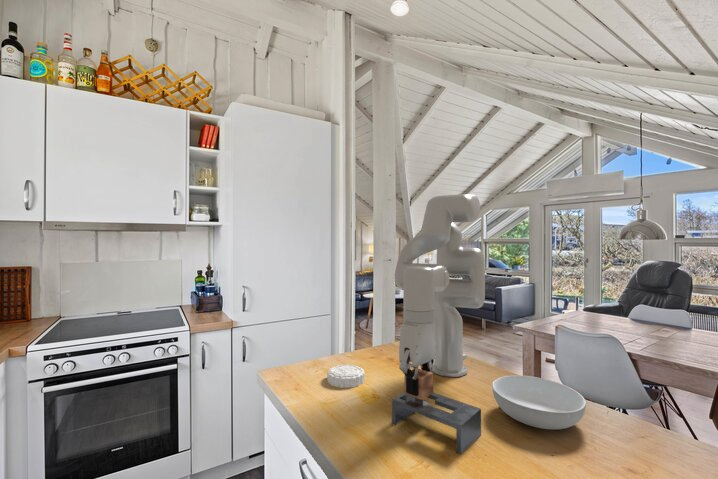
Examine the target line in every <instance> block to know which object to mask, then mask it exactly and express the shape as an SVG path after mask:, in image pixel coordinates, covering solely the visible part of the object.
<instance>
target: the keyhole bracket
mask: <svg viewBox="0 0 718 479" xmlns="http://www.w3.org/2000/svg"><path fill="white" fill-rule="evenodd" d="M426 398H427V399H430V400H433V401H434V405H435V406H439V407H441V408H444V409H447V410H450V411H452V412H448V411H446V410H443V409H441V408H437V407H435V406H432V405H427V406H425V407H424V408H423V407H421V406H418V405H415V404H413V403H410V402H409V401H410V400H413V399H415V397H412V396H409V395H407V394H405V391H404V392H402V393H401V394H398V395H397V396H395V397H393V398H392V399H391V424H392V425H394V426H396V425H397V424H400V422H402V421H404V420H406V419H407V418H409V417H410V416H412V415H413V414H415V413H416V414H419V415H420V416H424V417H426V418H428V419H430V420H433V421H434V422H435V421H436V422H438V423H439V424H443V425H446V426H448V427H450V428H453V429H455V430H456V431H455V432H456V433H455V434H456V435H455V436H456V443H455V445H456V454H458V455H462V454H464V452H466V450H467V449H469V447H471V446H472V445H473V444H474V443H475V442H476V441H477V440H478V439H479V437H481V435H482V408H481V407H480V408H479V407H478V406H474V405H470V404H468V403H465V402H462V401H460V400H456V399H453V398H450V397H448V396H444V395H441V394H440V393H439V394H438V393H436V392H433V394H431V395H430V396H428V397H426ZM412 411H413V412H412Z"/></svg>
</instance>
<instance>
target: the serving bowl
mask: <svg viewBox="0 0 718 479" xmlns="http://www.w3.org/2000/svg"><path fill="white" fill-rule="evenodd" d="M491 388H492V394H493V397H494V399H495V402H496V404H497V405H498V406H499V408H500V409H501V410H502V411H503V412H504V413H505V414H506V415H508V416H509V417H511V418H512V419H514V420H516V421H518V422H519V423H522V424H525V425H527V426H529V427H534V428H539V429H543V430H544V429H545V430H563V429H568V428H570V427H571V428H572V427H573V426H575V425H576V424H578V423H579V422H580V421H581V420H582V418H583V417H584V414H585V412H586V406H587V402H586V399H585V398H584V396H583V395H582V394H581V393H579V392H578V391H577V390H575V389H573V388H571V387H570V386H568V385H566V384H563V383H560V382H557V381H555V380H551V379H548V378H547V379H546V378H543V377H542V378H541V377H537V376H532V375H523V374H522V375H520V374H519V375H515V374H514V375H504V376H501V377H498V378H496V379H495V380H493V381H492V384H491Z"/></svg>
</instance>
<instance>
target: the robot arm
mask: <svg viewBox="0 0 718 479" xmlns="http://www.w3.org/2000/svg"><path fill="white" fill-rule="evenodd" d="M480 211H481V203H480V200H479V198H478V196H477V195H476V194H468V193H467V194H465V193H463V194H462V193H461V194H445V195H437V196H434V197H431V198H430V199H428V200H427V204H426V206H425V211H424V216H423V219H422V220H423V221H422V224H421V228H420V232H419V233H418V234H416V235H415V236H414V237H413V238H411V239H410V240H409V241H408V242H407V243H406V244H405V245H404V246H403V247H402V249H401V250H400V253H399V255H398V259H397V262H396V266H395V269H394V270H395V271H394V283H395V285H396V287H397V288H398V289H400V290H401V291H403V293H402V294H403V295H402V296H403V299H402V300H403V301H402V302H403V311H402V312H403V322H402V324H401V328H400V336H399V346H398V349H399V350H398V361H399V363H400V364H399V367H398V368H399V370H400V371H401V372H402V373H403V374H404V378H405V377H406V392H407V393H408V394H411V395H414V396H418V379H417V373H418V369H419V367H420V369H421V370H425V371H428V372H431V373H433V374H435V375H440V376H442V377H451V378H452V377H453V378H454V377H455V378H458V377H463V376H465V375H467V374H468V372H469V370H468V367H467V366H466V365H465V364H464V360H466V359H467V354H466V353H464V350H463V348H464V344H463V343H464V332H463V330H464V326H463V325H464V324H463V323H464V322H463V318H462V315H461V314H460V312H459V311H458V310H457V309H456V308H463V309H464V308H467V309H480V308H482V307H483V306H484V303H485V300H486V297H485V296H486V271H485V270H486V263H485V256H484V252H483V251H482V250H481V248H477V247H464V246H463V237H462V236H463V233H462V231H461V229H460V227H459V226H458V225H457V224H455V223H471V222H474V221H476V220H477V219H478V218H479V215H480ZM434 251H436V263H417V262H414V261H415V260H417V258H419V257H421V256H423V255H425V254H428V253H430V252H431V253H432V252H434ZM450 275H451V276H452V275H453V276H468V277H469V278H470V279H466V278H465V279H464V278H450ZM411 362H412V363H411ZM411 368H413V369H411ZM411 370H413V372H412V371H411Z"/></svg>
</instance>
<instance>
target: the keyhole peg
mask: <svg viewBox="0 0 718 479" xmlns="http://www.w3.org/2000/svg"><path fill="white" fill-rule="evenodd" d="M411 371H412V372H413V369H411ZM417 379H418V396H414V395H411V394H408V393H407V392H406V377H405V376H404V392H405V394H407V395H409V396H412V397H415V399H413V400H410V401H409V402H410V403H413V404H415V405H418V406H421V407H423V408H424V407H425V406H427V405H430V403H429V402H428V401H427V400H425V399H426V398H427V397H428V396H430V395H431V394H433V393H434V372H428V371H425V370H422V369H421V368H418V373H417ZM430 406H431V405H430ZM412 412H413V411H412Z"/></svg>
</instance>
